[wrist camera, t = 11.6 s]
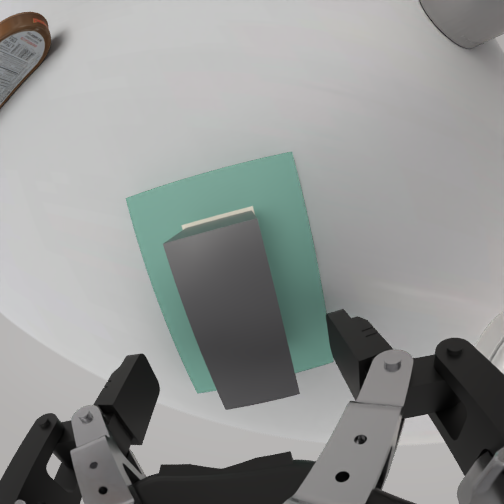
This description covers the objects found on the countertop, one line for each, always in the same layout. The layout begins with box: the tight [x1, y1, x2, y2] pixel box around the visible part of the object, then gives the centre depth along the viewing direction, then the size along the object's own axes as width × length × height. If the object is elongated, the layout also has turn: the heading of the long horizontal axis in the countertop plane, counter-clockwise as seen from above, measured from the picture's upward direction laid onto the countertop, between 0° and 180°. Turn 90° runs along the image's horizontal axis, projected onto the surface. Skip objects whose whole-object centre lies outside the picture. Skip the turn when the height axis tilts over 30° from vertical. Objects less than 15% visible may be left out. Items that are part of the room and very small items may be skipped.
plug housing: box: [163, 210, 300, 410], centre depth 17 cm, size 11×5×6 cm, turn 14°
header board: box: [126, 152, 333, 393], centre depth 19 cm, size 17×12×5 cm
